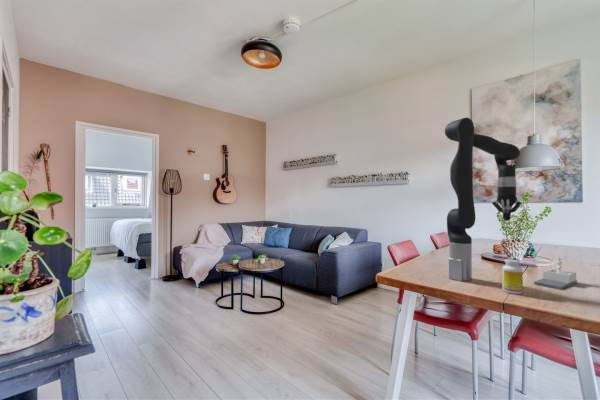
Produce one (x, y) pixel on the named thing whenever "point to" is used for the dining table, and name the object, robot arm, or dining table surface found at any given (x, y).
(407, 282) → the dining table surface
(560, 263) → the chess piece
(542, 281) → the end cap plate
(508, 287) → the supplement bottle
